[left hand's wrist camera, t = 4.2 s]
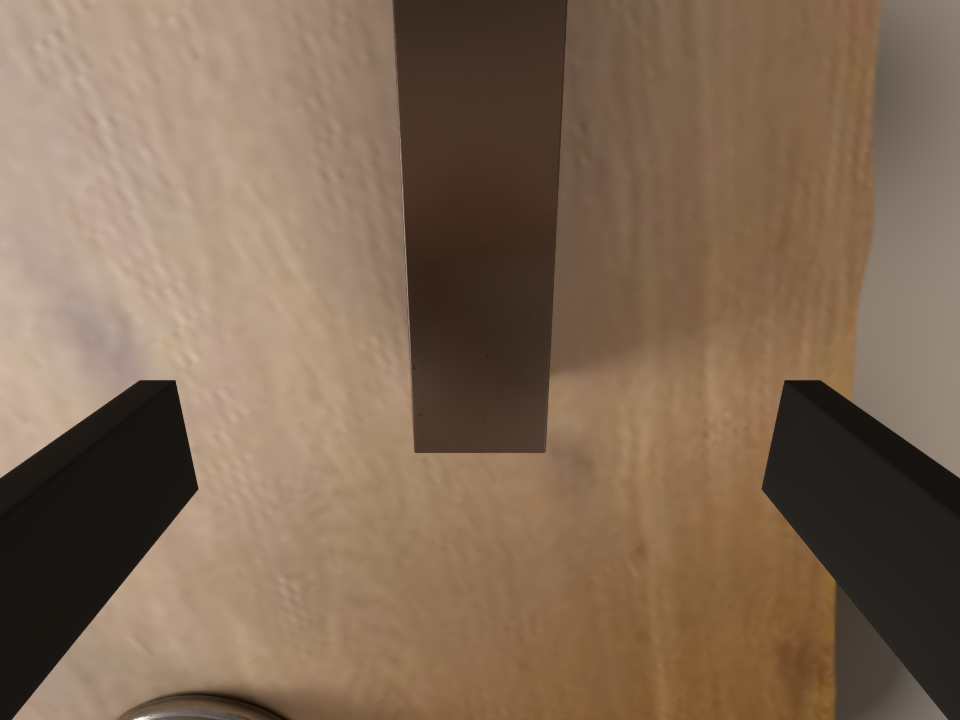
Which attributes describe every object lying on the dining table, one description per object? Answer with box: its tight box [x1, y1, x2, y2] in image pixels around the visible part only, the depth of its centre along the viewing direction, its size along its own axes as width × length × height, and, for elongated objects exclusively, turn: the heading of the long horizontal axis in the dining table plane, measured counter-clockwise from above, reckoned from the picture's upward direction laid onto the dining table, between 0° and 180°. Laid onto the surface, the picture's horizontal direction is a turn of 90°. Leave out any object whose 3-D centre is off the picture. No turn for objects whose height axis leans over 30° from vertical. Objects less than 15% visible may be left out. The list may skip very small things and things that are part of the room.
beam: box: [393, 0, 567, 453], centre depth 19 cm, size 30×5×7 cm, turn 0°
